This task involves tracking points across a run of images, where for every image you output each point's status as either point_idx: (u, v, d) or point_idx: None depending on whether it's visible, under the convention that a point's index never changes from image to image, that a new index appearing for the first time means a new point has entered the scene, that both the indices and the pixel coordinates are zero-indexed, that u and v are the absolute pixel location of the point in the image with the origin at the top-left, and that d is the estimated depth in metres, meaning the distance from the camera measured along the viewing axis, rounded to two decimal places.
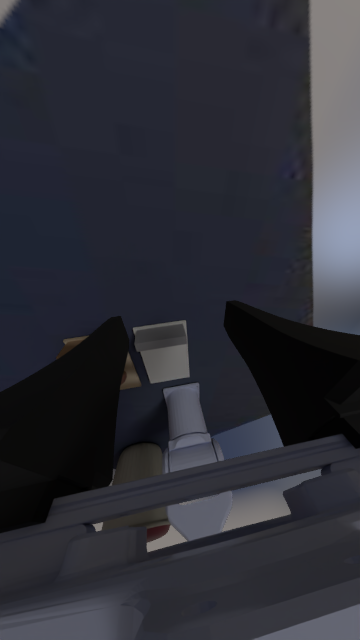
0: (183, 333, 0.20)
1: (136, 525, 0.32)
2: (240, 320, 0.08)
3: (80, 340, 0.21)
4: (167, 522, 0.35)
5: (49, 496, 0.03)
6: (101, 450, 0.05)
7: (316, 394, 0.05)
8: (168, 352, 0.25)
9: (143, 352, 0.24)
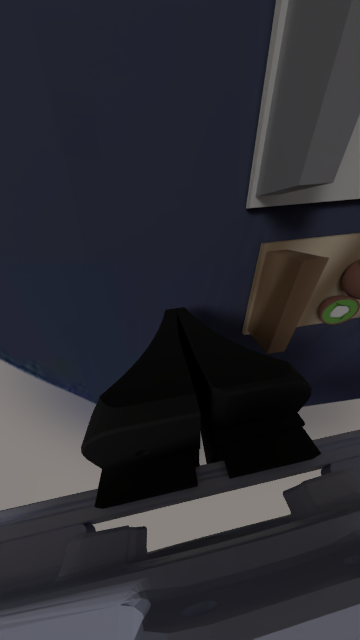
0: None
1: None
2: (180, 329, 0.08)
3: (252, 315, 0.13)
4: None
5: (194, 463, 0.04)
6: None
7: (207, 416, 0.04)
8: None
9: (332, 191, 0.09)
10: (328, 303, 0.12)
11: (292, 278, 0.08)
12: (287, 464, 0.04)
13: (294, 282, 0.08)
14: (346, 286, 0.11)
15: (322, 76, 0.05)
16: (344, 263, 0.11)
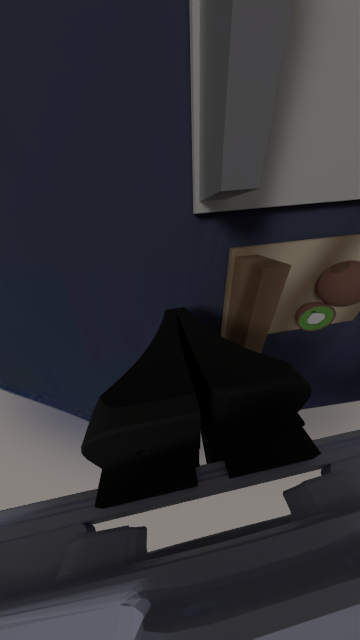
0: None
1: None
2: (180, 329, 0.08)
3: (227, 321, 0.12)
4: None
5: (194, 463, 0.04)
6: None
7: (207, 416, 0.04)
8: (338, 59, 0.06)
9: (283, 195, 0.08)
10: (303, 310, 0.12)
11: (256, 286, 0.08)
12: (287, 464, 0.04)
13: (258, 290, 0.08)
14: (320, 293, 0.11)
15: (224, 71, 0.04)
16: (320, 268, 0.11)
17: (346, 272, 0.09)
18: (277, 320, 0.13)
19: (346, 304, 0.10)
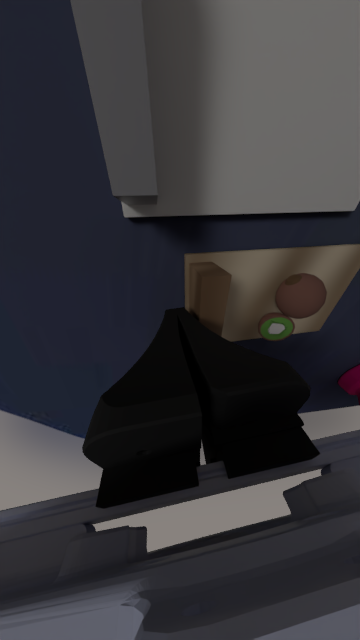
0: None
1: None
2: (180, 329, 0.08)
3: None
4: None
5: (195, 463, 0.04)
6: None
7: (206, 416, 0.04)
8: (253, 68, 0.06)
9: (217, 203, 0.08)
10: (263, 320, 0.12)
11: (199, 294, 0.08)
12: (286, 464, 0.04)
13: (201, 299, 0.08)
14: (277, 304, 0.11)
15: None
16: (279, 278, 0.11)
17: (297, 285, 0.09)
18: (241, 328, 0.13)
19: (301, 316, 0.10)
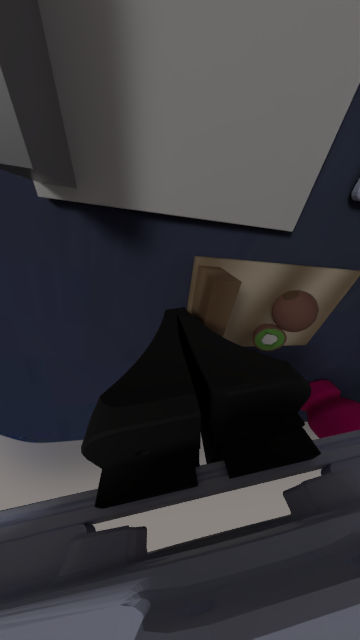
0: None
1: None
2: (180, 329, 0.08)
3: None
4: None
5: (194, 463, 0.04)
6: None
7: (207, 416, 0.04)
8: (174, 60, 0.05)
9: (148, 200, 0.07)
10: (258, 330, 0.12)
11: (208, 296, 0.08)
12: (287, 464, 0.04)
13: (209, 301, 0.08)
14: (273, 316, 0.12)
15: None
16: (278, 291, 0.12)
17: (294, 300, 0.10)
18: (237, 335, 0.14)
19: (294, 330, 0.11)
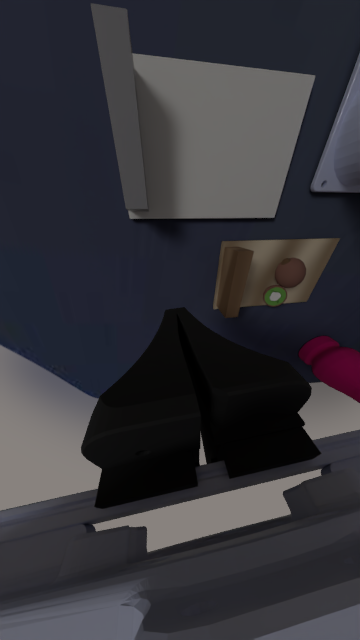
0: None
1: None
2: (180, 329, 0.08)
3: (218, 292, 0.18)
4: None
5: (194, 464, 0.04)
6: None
7: (207, 416, 0.04)
8: (199, 144, 0.11)
9: (185, 211, 0.13)
10: (266, 290, 0.18)
11: (234, 262, 0.14)
12: (287, 464, 0.04)
13: (235, 265, 0.14)
14: (276, 278, 0.17)
15: None
16: (279, 259, 0.17)
17: (288, 264, 0.15)
18: (252, 296, 0.19)
19: (290, 285, 0.17)
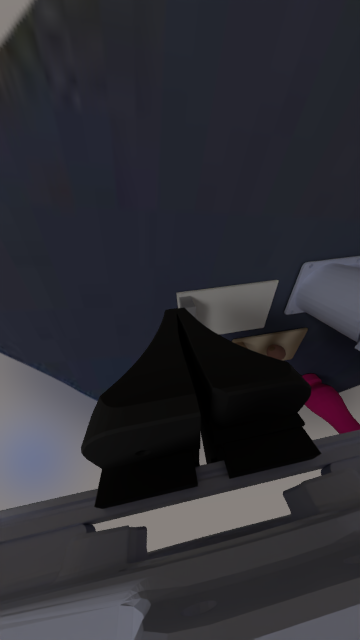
0: None
1: None
2: (180, 329, 0.08)
3: None
4: None
5: (194, 463, 0.04)
6: None
7: (207, 416, 0.04)
8: (219, 310, 0.21)
9: None
10: None
11: None
12: (287, 464, 0.04)
13: None
14: (267, 355, 0.27)
15: None
16: (269, 343, 0.27)
17: (273, 351, 0.25)
18: None
19: None
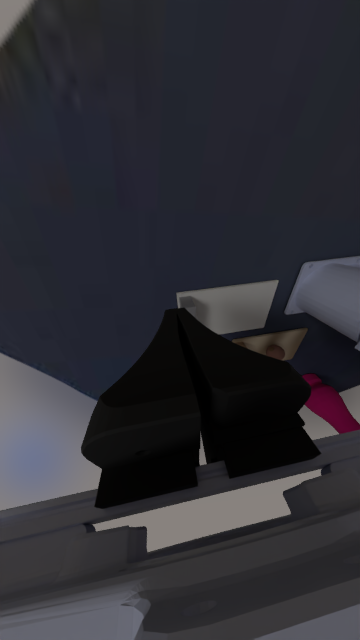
0: None
1: None
2: (180, 329, 0.08)
3: None
4: None
5: (194, 463, 0.04)
6: None
7: (207, 416, 0.04)
8: (219, 310, 0.21)
9: None
10: None
11: None
12: (287, 464, 0.04)
13: None
14: None
15: None
16: (269, 343, 0.27)
17: (273, 351, 0.25)
18: None
19: None
